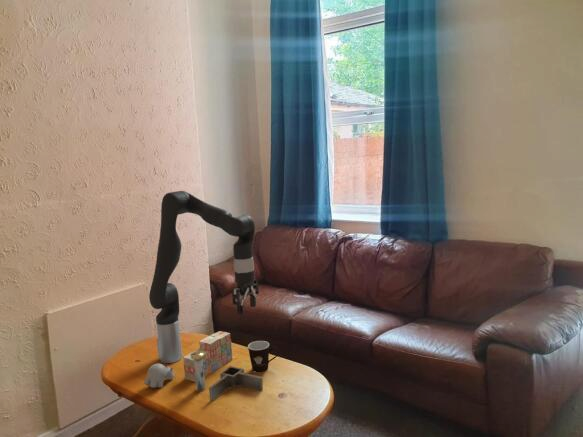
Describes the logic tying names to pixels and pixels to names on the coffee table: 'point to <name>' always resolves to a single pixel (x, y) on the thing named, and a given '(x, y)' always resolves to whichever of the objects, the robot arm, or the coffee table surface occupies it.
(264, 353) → the coffee mug
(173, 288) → the robot arm
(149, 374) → the chubby cartoon animal
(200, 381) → the hinge pin
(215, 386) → the hinge leaves
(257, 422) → the coffee table surface
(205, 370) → the stack of blocks
